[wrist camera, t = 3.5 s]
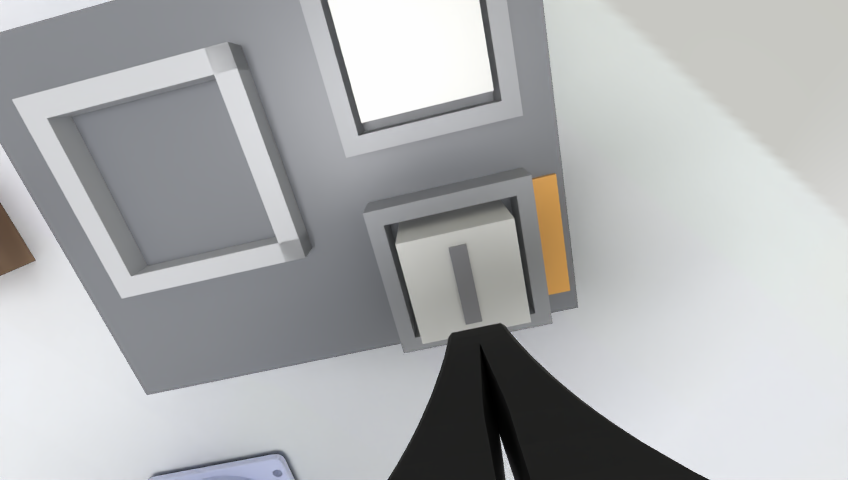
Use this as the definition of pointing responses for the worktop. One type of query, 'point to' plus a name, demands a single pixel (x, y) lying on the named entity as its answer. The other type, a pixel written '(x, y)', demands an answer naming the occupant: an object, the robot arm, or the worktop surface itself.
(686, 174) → the worktop surface
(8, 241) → the block
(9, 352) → the worktop surface
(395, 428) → the worktop surface
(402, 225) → the button
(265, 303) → the breaker panel
